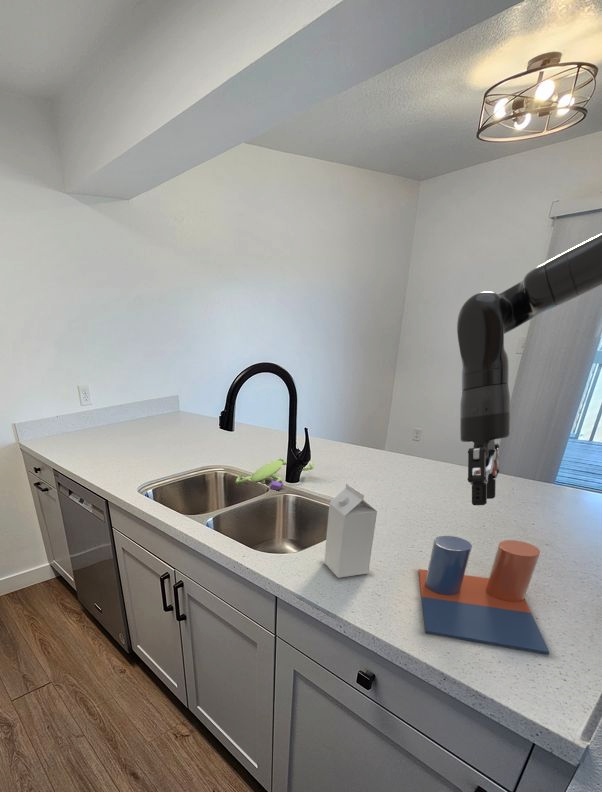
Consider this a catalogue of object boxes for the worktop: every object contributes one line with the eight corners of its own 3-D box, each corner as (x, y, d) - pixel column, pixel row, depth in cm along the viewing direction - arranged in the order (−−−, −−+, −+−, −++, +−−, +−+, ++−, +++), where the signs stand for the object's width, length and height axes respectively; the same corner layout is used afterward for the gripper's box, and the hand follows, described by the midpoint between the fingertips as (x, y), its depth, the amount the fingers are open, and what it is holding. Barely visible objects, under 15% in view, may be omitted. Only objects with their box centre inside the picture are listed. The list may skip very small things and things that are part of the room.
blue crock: (458, 580, 90) (469, 537, 85) (462, 597, 84) (474, 552, 80) (423, 576, 92) (432, 534, 87) (425, 592, 87) (435, 548, 82)
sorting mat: (516, 584, 88) (516, 581, 88) (548, 654, 70) (549, 652, 70) (418, 571, 95) (419, 569, 95) (425, 633, 77) (425, 630, 76)
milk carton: (352, 558, 101) (362, 481, 93) (368, 574, 95) (380, 492, 86) (323, 563, 100) (330, 485, 92) (338, 578, 94) (346, 496, 85)
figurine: (321, 476, 153) (322, 461, 151) (268, 496, 139) (268, 479, 137) (281, 466, 167) (282, 452, 164) (229, 483, 152) (229, 467, 150)
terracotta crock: (520, 586, 87) (535, 542, 82) (528, 604, 81) (545, 558, 77) (483, 581, 89) (495, 538, 84) (489, 598, 84) (502, 553, 79)
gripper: (502, 410, 71) (501, 507, 74) (515, 410, 81) (514, 495, 84) (451, 417, 76) (452, 507, 79) (469, 416, 87) (469, 496, 90)
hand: (483, 501), depth 82 cm, fingers open, 8 cm apart
